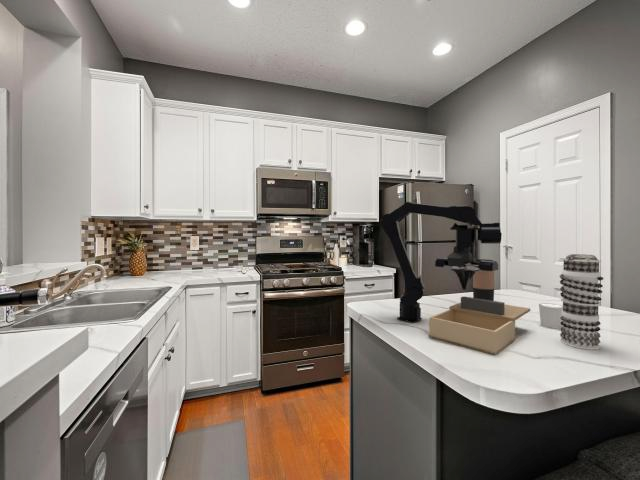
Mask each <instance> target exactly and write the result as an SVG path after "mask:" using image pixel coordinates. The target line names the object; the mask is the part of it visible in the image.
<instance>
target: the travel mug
mask: <svg viewBox="0 0 640 480" xmlns="http://www.w3.org/2000/svg"><path fill="white" fill-rule="evenodd" d="M480 261H494V260H493V259H482V258H479V259H478V258H476V262H480ZM478 269H479V268H478ZM472 278H473V279H472V295H473V297H472V298H477V299H484V300H491V301H495V271H483V270H480V269H479V271H476V272H475V274H474V275H473V277H472Z"/></svg>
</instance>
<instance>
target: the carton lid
mask: <svg viewBox="0 0 640 480" xmlns="http://www.w3.org/2000/svg"><path fill="white" fill-rule="evenodd" d="M450 309H452V310H457V311H463V312H468V313H473V314H479V315H484V316H489V317H495V318H500V319H505V320H511V321H515V322H516V321H517V320H519V319H520V318H521V317H523V316H524V315H526V314H528V313H530V312H531V308H529V307H525V306H524V307H523V306H517V305H510V304H505V302H503V301H497V300H494V301H491V300H484V299H477V298H473V297H469V296H461V297H460V302H458V303H456V304H452V305H450V306H449V308H448V310H450Z"/></svg>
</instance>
